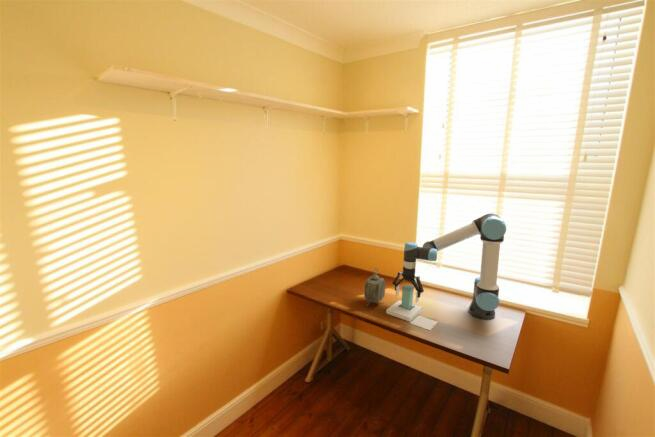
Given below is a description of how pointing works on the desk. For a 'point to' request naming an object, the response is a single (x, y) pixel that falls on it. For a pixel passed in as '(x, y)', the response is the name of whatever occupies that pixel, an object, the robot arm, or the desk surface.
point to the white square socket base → (404, 311)
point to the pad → (424, 322)
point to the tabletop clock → (374, 288)
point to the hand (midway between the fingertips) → (406, 298)
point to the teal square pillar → (407, 296)
